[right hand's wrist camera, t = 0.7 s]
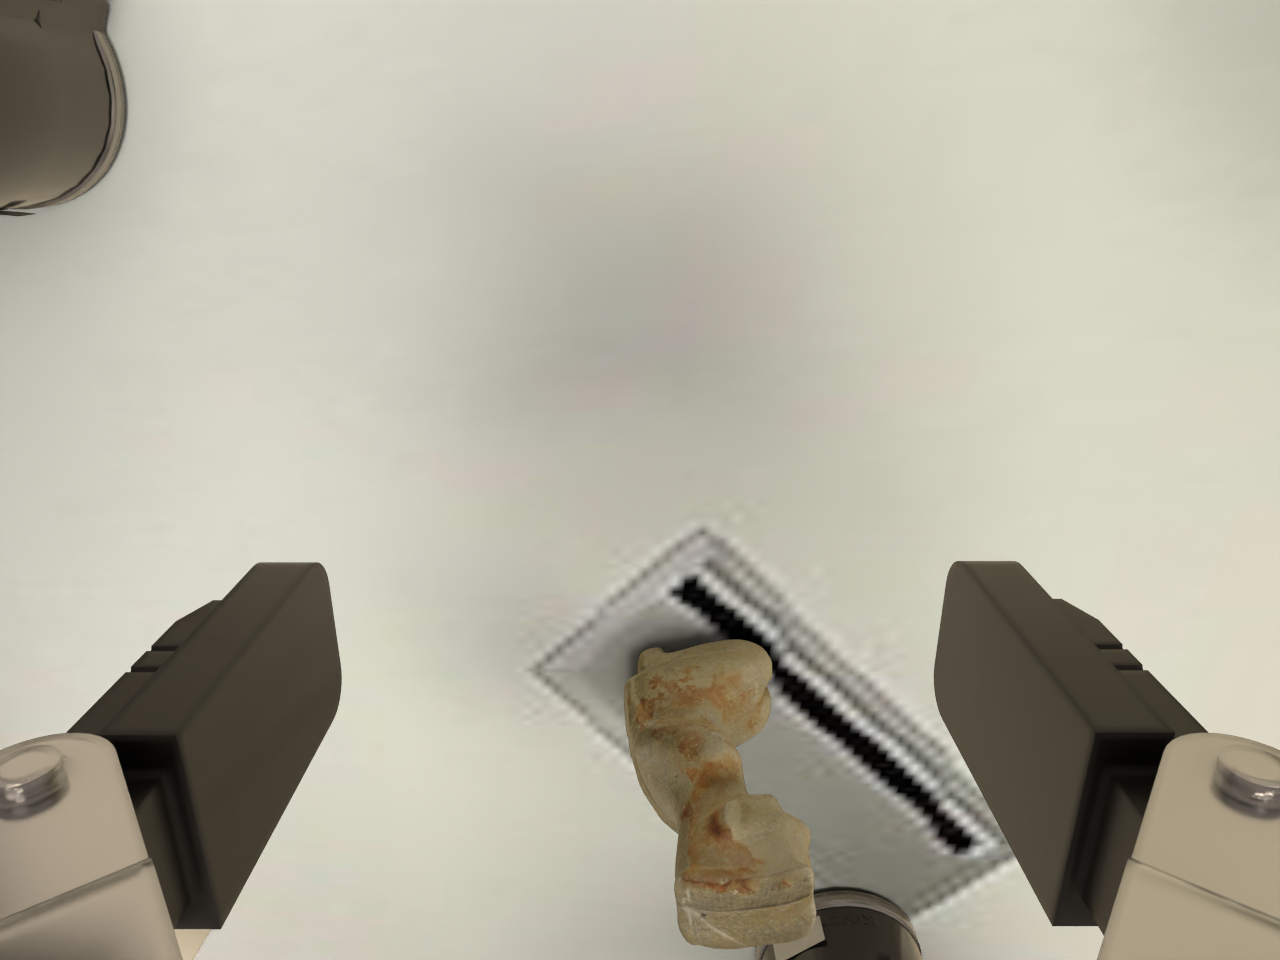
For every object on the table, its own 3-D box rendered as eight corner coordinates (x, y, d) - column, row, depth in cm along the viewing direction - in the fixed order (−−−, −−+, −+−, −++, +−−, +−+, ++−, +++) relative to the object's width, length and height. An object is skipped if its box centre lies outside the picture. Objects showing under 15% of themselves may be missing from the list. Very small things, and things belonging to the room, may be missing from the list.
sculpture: (765, 718, 45) (823, 980, 31) (626, 720, 45) (621, 983, 31) (770, 619, 43) (835, 854, 29) (623, 621, 43) (618, 857, 29)
